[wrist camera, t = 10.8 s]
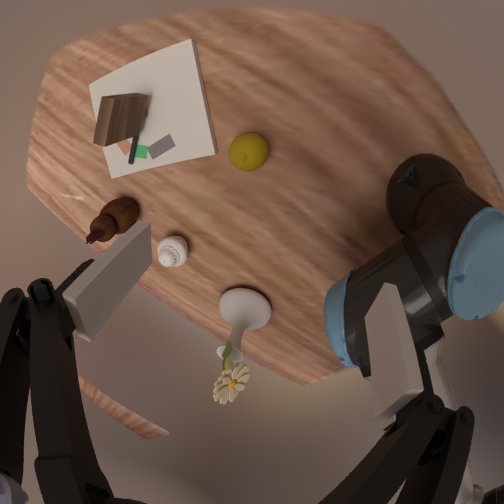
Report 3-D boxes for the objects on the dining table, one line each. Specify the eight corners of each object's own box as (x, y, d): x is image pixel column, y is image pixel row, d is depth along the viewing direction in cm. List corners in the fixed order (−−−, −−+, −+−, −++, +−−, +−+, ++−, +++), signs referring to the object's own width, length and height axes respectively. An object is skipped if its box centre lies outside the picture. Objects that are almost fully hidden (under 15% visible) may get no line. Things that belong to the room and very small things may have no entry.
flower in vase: (263, 328, 61) (239, 427, 40) (216, 312, 61) (177, 407, 40) (282, 288, 54) (261, 401, 33) (227, 269, 54) (180, 374, 33)
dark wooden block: (153, 95, 36) (114, 99, 28) (136, 165, 44) (100, 184, 35) (141, 92, 36) (101, 96, 28) (126, 161, 44) (89, 179, 35)
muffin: (163, 247, 54) (146, 266, 49) (169, 223, 51) (152, 241, 45) (189, 261, 55) (175, 281, 49) (197, 237, 52) (183, 257, 46)
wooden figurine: (143, 197, 49) (95, 234, 37) (144, 223, 52) (100, 264, 40) (116, 191, 49) (67, 225, 37) (118, 216, 53) (73, 253, 40)
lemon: (229, 146, 41) (213, 156, 34) (254, 122, 38) (242, 128, 32) (254, 170, 43) (242, 185, 36) (279, 148, 40) (272, 158, 33)
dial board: (218, 152, 42) (215, 154, 41) (116, 176, 48) (111, 178, 46) (194, 40, 32) (190, 38, 31) (93, 84, 38) (88, 85, 36)
